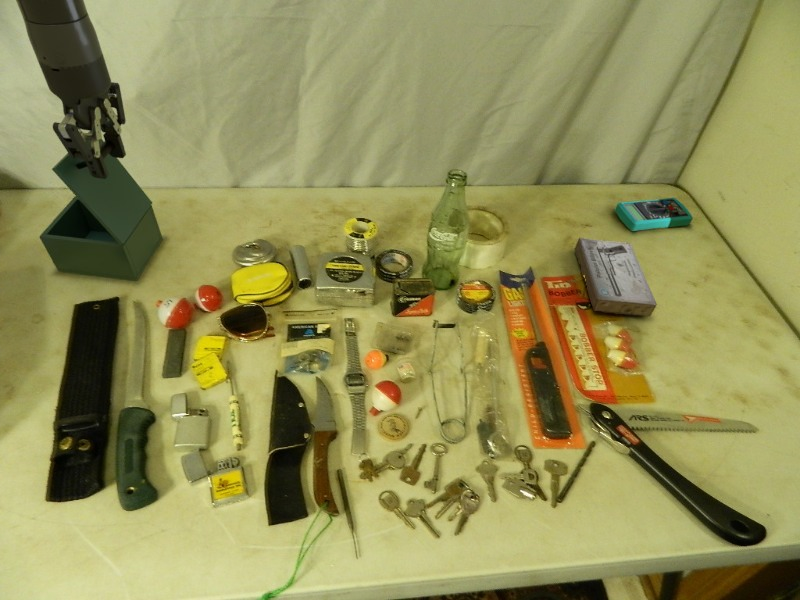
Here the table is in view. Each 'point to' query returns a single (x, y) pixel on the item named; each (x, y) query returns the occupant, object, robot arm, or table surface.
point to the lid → (106, 192)
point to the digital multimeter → (653, 214)
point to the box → (614, 277)
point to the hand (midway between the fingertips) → (109, 166)
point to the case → (99, 244)
